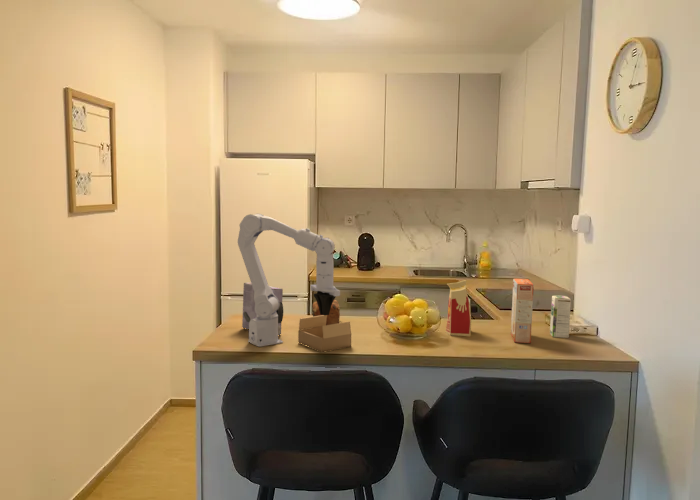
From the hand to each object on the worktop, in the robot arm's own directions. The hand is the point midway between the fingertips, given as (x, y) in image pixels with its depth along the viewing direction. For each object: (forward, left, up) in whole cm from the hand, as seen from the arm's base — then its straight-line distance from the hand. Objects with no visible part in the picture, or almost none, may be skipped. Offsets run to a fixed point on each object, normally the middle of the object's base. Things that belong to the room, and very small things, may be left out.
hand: (324, 314), depth 185 cm
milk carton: (+50, -15, -11) cm, 53 cm away
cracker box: (+62, -34, -11) cm, 72 cm away
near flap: (0, -7, -4) cm, 8 cm away
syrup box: (+77, -40, -11) cm, 87 cm away
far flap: (0, +7, -4) cm, 8 cm away
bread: (+18, +24, -11) cm, 32 cm away
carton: (0, 0, -10) cm, 10 cm away
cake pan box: (-8, +28, -11) cm, 31 cm away
